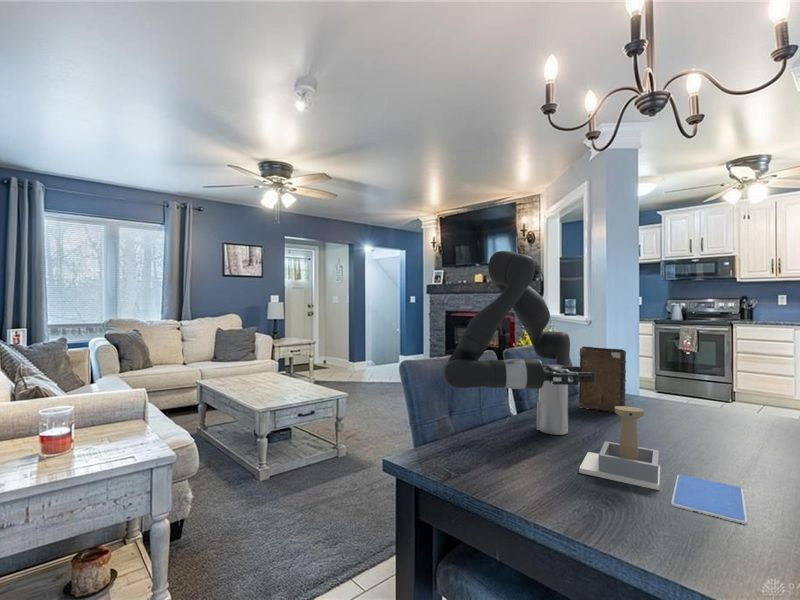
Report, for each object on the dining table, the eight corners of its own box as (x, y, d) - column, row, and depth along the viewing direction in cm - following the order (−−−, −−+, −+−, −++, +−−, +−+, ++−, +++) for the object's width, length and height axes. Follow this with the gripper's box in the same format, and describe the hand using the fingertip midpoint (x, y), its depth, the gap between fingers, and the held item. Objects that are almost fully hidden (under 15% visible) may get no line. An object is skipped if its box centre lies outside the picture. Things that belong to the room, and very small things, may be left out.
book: (626, 411, 163) (627, 349, 163) (624, 415, 157) (624, 350, 157) (581, 405, 173) (582, 346, 173) (577, 408, 167) (578, 347, 167)
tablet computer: (748, 529, 79) (748, 522, 79) (670, 508, 87) (670, 502, 87) (743, 492, 94) (743, 487, 94) (677, 478, 102) (677, 472, 102)
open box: (579, 472, 103) (579, 451, 103) (588, 456, 114) (588, 437, 114) (659, 490, 94) (659, 467, 94) (660, 470, 105) (660, 450, 105)
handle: (645, 474, 100) (645, 412, 100) (615, 470, 102) (616, 409, 102) (641, 466, 104) (641, 407, 104) (613, 463, 106) (613, 405, 106)
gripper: (529, 363, 97) (598, 363, 97) (515, 354, 112) (575, 354, 111) (529, 395, 97) (598, 395, 97) (515, 382, 112) (575, 382, 111)
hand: (586, 373), depth 104 cm, fingers open, 8 cm apart
